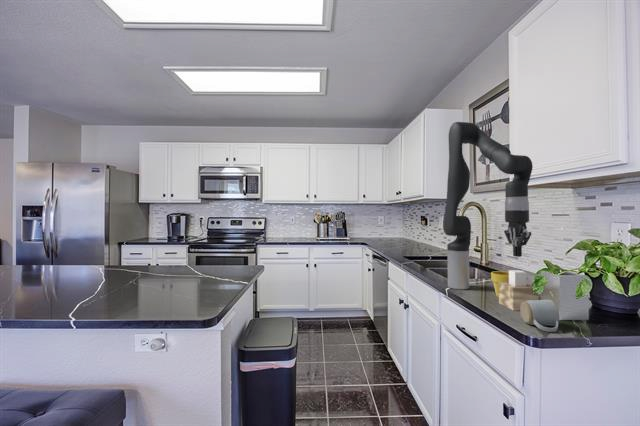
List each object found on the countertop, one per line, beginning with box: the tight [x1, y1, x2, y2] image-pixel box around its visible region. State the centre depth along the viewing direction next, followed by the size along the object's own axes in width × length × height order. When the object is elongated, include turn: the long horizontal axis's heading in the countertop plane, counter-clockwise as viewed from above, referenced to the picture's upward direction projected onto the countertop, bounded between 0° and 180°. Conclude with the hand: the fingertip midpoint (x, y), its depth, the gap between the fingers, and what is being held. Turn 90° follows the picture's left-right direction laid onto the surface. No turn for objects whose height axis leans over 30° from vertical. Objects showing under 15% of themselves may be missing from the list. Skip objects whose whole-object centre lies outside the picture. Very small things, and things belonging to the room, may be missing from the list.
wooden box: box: [498, 282, 540, 311], centre depth 115 cm, size 9×9×8 cm
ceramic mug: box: [519, 299, 560, 333], centre depth 95 cm, size 11×8×8 cm
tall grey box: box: [539, 270, 590, 321], centre depth 105 cm, size 9×9×14 cm
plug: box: [508, 269, 528, 287], centre depth 115 cm, size 4×5×9 cm
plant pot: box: [490, 270, 509, 298], centre depth 128 cm, size 10×10×10 cm
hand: (517, 256), depth 115 cm, fingers closed
